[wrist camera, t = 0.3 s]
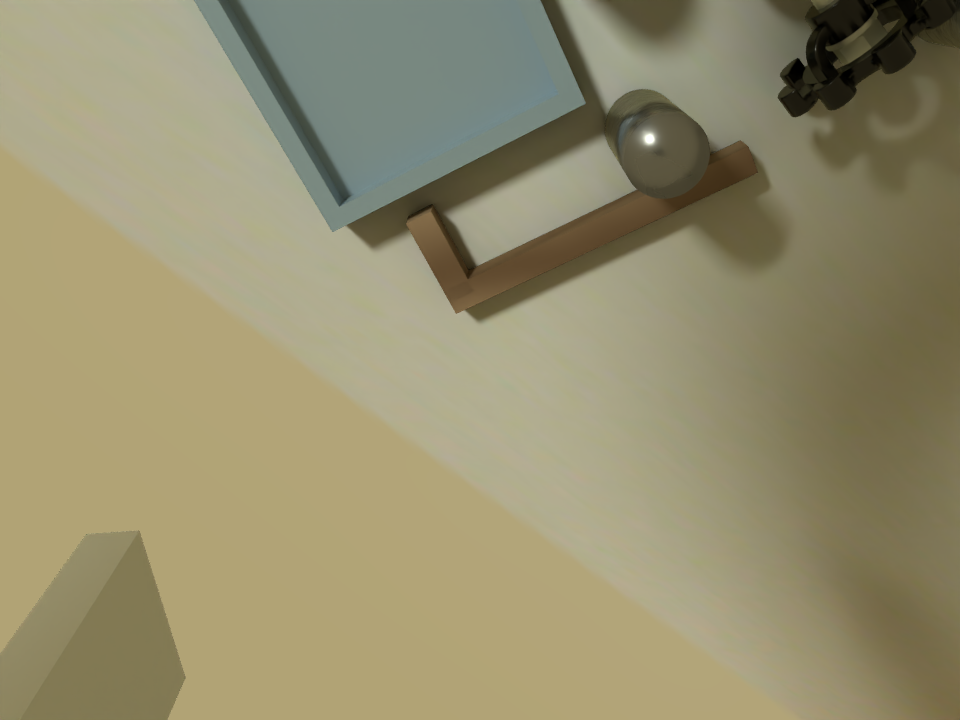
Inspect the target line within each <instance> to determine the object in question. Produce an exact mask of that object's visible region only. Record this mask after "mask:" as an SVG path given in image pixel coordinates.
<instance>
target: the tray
mask: <svg viewBox="0 0 960 720" xmlns="http://www.w3.org/2000/svg"><path fill="white" fill-rule="evenodd" d="M194 1H195V3H196V4H197V6H198V8H199V9H200V11H201V13H202V14H203V16H204V18H205V19H206V21H207V23H208V24H209V26H210V28H211V29H212V31H213V33H214V34H215V36H216V38H217V39H218V41H219V43H220V44H221V46H222V48H223V50H224V51H225V53H226V55H227V56H228V58H229V60H230V61H231V63H232V65H233V66H234V68H235V70H236V71H237V73H238V75H239V76H240V78H241V80H242V81H243V83H244V85H245V86H246V88H247V90H248V91H249V93H250V95H251V96H252V98H253V100H254V101H255V103H256V105H257V106H258V108H259V110H260V111H261V113H262V115H263V117H264V118H265V120H266V122H267V123H268V125H269V127H270V128H271V130H272V132H273V133H274V135H275V137H276V138H277V140H278V142H279V143H280V145H281V147H282V148H283V150H284V152H285V153H286V155H287V157H288V158H289V160H290V162H291V163H292V165H293V167H294V168H295V170H296V172H297V173H298V175H299V177H300V178H301V180H302V182H303V184H304V185H305V187H306V189H307V190H308V192H309V194H310V195H311V197H312V199H313V200H314V202H315V204H316V205H317V207H318V209H319V210H320V212H321V214H322V215H323V217H324V219H325V220H326V222H327V224H328V225H329V227H330V229H331V230H332V232H334V231H336V230H338V229H340V228H342V227H344V226H346V225H348V224H350V223H352V222H354V221H356V220H357V219H359V218H361V217H363V216H365V215H367V214H369V213H371V212H373V211H375V210H377V209H379V208H381V207H383V206H385V205H387V204H389V203H391V202H393V201H395V200H397V199H399V198H401V197H403V196H405V195H407V194H409V193H411V192H413V191H415V190H417V189H419V188H421V187H423V186H424V185H426V184H428V183H430V182H432V181H434V180H436V179H438V178H440V177H442V176H444V175H446V174H448V173H450V172H452V171H454V170H456V169H458V168H460V167H462V166H464V165H466V164H468V163H470V162H472V161H474V160H476V159H478V158H480V157H482V156H484V155H486V154H488V153H490V152H491V151H493V150H495V149H497V148H499V147H501V146H503V145H505V144H507V143H509V142H511V141H513V140H515V139H517V138H519V137H521V136H523V135H525V134H527V133H529V132H531V131H533V130H535V129H537V128H539V127H541V126H543V125H545V124H547V123H549V122H551V121H553V120H555V119H557V118H558V117H560V116H562V115H564V114H566V113H568V112H570V111H572V110H574V109H576V108H578V107H580V106H582V105H584V104H586V102H585V100H584V98H583V96H582V93H581V91H580V89H579V87H578V84H577V82H576V80H575V77H574V75H573V73H572V71H571V68H570V66H569V64H568V62H567V59H566V57H565V55H564V53H563V50H562V48H561V46H560V43H559V41H558V39H557V37H556V34H555V32H554V30H553V28H552V25H551V23H550V21H549V19H548V16H547V14H546V12H545V9H544V7H543V5H542V3H541V0H194Z"/></svg>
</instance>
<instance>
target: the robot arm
mask: <svg viewBox="0 0 960 720" xmlns="http://www.w3.org/2000/svg"><path fill="white" fill-rule="evenodd" d="M184 680H185V674H184V671H183V668H182V665H181V661H180V658H179V655H178V652H177V649H176V645H175V642H174V639H173V636H172V633H171V630H170V627H169V624H168V620H167V617H166V614H165V611H164V607H163V604H162V602H161V598H160V595H159V592H158V588H157V585H156V582H155V579H154V576H153V573H152V569H151V566H150V563H149V560H148V557H147V554H146V550H145V547H144V544H143V541H142V538H141V534H140V531H126V532H111V533H96V534H86V535H85V537H84V538H83V539H82V541H81V542H80V544H79V545H78V546H77V548H76V549H75V551H74V552H73V553H72V555H71V556H70V558H69V559H68V560H67V562H66V563H65V564H64V566H63V567H62V569H61V570H60V571H59V573H58V574H57V576H56V577H55V578H54V580H53V581H52V583H51V584H50V585H49V587H48V588H47V589H46V591H45V592H44V594H43V595H42V596H41V598H40V599H39V601H38V602H37V603H36V605H35V606H34V608H33V609H32V610H31V612H30V613H29V614H28V616H27V617H26V619H25V620H24V622H23V623H22V624H21V626H20V627H19V628H18V630H17V631H16V633H15V634H14V635H13V637H12V638H11V640H10V641H9V642H8V644H7V645H6V647H5V648H4V649H3V651H2V652H1V653H0V720H167V719H168V717H169V714H170V712H171V710H172V708H173V705H174V703H175V701H176V698H177V696H178V694H179V691H180V689H181V687H182V685H183V682H184Z"/></svg>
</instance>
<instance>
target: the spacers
mask: <svg viewBox="0 0 960 720" xmlns="http://www.w3.org/2000/svg"><path fill="white" fill-rule="evenodd" d="M953 2H954V4H955V5H956V7H957V10H956V12H955V14H954V15H953V16H952V17H951V18H950V19H949V20H948V21H946V22H945V23H944V24H942V25H941V26H939V27H937V28H935V29H932V30H923V31H922V32H920V33H919V34H918V36H919V37H921V38H922V39H924V40H926V41H928V42H931V43H936V44H941V45H946V46H951V47H956V48H960V0H953ZM605 137H606V140H607V143H608V145H609V147H610V149H611V150H612V152H613V153H614V155H615V157H616V158H617V160H618V162H619V163H620V165H621V167H622V168H623V170H624V172H625V173H626V175H627V177H628V178H629V180H630V181H631V183H632V184H633V185H634V186H635V188H636V189H638V190H639V191H640V192H642V193H643V194H645V195H647V196H650V197H653V198H659V199H668V198H673V197H677V196H680V195H682V194H684V193H686V192H688V191H689V190H691V189H692V188H693V187H694V186H695V185H696V184H697V183H698V182H699V181H700V180H701V178H702V177H703V175H704V173H705V171H706V169H707V166H708V163H709V158H710V147H709V142H708V138H707V136H706V134H705V132H704V130H703V129H702V128H701V126H700V125H699V124H698V123H697V122H695V121H694V120H693V119H692V118H690V117H689V116H688V115H687V114H686V113H684V112H683V111H682V110H681V109H679V108H678V107H677V106H676V105H674V104H673V103H672V102H671V101H670V100H668V99H667V98H666V97H665V96H663V95H662V94H660V93H658V92H656V91H653V90H648V89H639V90H634V91H631V92H629V93H626V94H625V95H623V96H622V97H620V98H619V99H618V100H617V101H616V102H615V103H614V104H613V105H612V107H611V108H610V110H609V112H608V114H607V117H606V121H605Z"/></svg>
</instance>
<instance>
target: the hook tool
mask: <svg viewBox="0 0 960 720" xmlns="http://www.w3.org/2000/svg"><path fill="white" fill-rule="evenodd" d="M756 173H758V171H757V169H756V166H755V163H754V160H753V158H752V155H751V152H750V150H749V147H748V146H747V145H746V144H745V143H743V142H742V141H738V142H736V143H734V144H732V145H730V146H728V147H726V148H724V149H722V150H720V151H718V152H715V153H713V154H711V155H710V158H709V163H708V166H707V169H706V171H705V173H704V175H703V177H702V178H701V180H700V181H699V182H698V183H697V184H696V185H695V186H694V187H693V188H692V189H691V190H689V191H688V192H686V193H684V194H682V195H680V196H677V197H673V198H668V199H659V198H653V197H650V196H647V195H645V194H643V193H642V192H640V191H639V190H636V191H634V192H632V193H630V194H628V195H626V196H623V197H621V198H619V199H617V200H615V201H613V202H611V203H609V204H607V205H605V206H603V207H600V208H598V209H596V210H594V211H592V212H590V213H588V214H586V215H584V216H582V217H580V218H577V219H575V220H573V221H571V222H569V223H567V224H565V225H563V226H561V227H559V228H557V229H554V230H552V231H550V232H548V233H546V234H544V235H542V236H540V237H538V238H536V239H534V240H531V241H529V242H527V243H525V244H523V245H521V246H519V247H517V248H515V249H513V250H511V251H508V252H506V253H504V254H502V255H500V256H498V257H496V258H494V259H492V260H490V261H488V262H485V263H483V264H481V265H479V266H477V267H475V268H473V269H471V270H468V268H467V267H466V265H465V263H464V261H463V259H462V257H461V255H460V254H459V252H458V250H457V248H456V246H455V244H454V242H453V241H452V239H451V237H450V235H449V233H448V231H447V229H446V228H445V226H444V224H443V222H442V220H441V218H440V217H439V215H438V213H437V211H436V209H435V207H434V205H433V204H432V205H430V206H428V207H426V208H424V209H422V210H420V211H418V212H416V213H414V214H412V215H410V216H409V217H408V220H407V223H406V225H407V226H408V228H409V230H410V232H411V234H412V235H413V237H414V239H415V241H416V243H417V244H418V246H419V248H420V250H421V252H422V253H423V255H424V257H425V259H426V261H427V262H428V264H429V266H430V268H431V270H432V271H433V273H434V275H435V277H436V278H437V280H438V282H439V284H440V286H441V287H442V289H443V291H444V293H445V295H446V296H447V298H448V300H449V302H450V304H451V305H452V307H453V309H454V311H455V313H456V314H457V313H459V312H461V311H463V310H465V309H468V308H470V307H472V306H474V305H476V304H478V303H480V302H483V301H485V300H487V299H489V298H491V297H493V296H495V295H498V294H500V293H502V292H504V291H506V290H508V289H510V288H512V287H515V286H517V285H519V284H521V283H523V282H525V281H527V280H530V279H532V278H534V277H536V276H538V275H540V274H542V273H545V272H547V271H549V270H551V269H553V268H555V267H557V266H559V265H562V264H564V263H566V262H568V261H570V260H572V259H574V258H577V257H579V256H581V255H583V254H585V253H587V252H589V251H592V250H594V249H596V248H598V247H600V246H602V245H604V244H606V243H609V242H611V241H613V240H615V239H617V238H619V237H621V236H624V235H626V234H628V233H630V232H632V231H634V230H636V229H639V228H641V227H643V226H645V225H647V224H649V223H651V222H653V221H656V220H658V219H660V218H662V217H664V216H666V215H668V214H671V213H673V212H675V211H677V210H679V209H681V208H683V207H686V206H688V205H690V204H692V203H694V202H696V201H698V200H700V199H703V198H705V197H707V196H709V195H711V194H713V193H715V192H718V191H720V190H722V189H724V188H726V187H728V186H730V185H733V184H735V183H737V182H739V181H741V180H743V179H745V178H747V177H750V176H752V175H754V174H756Z"/></svg>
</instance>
